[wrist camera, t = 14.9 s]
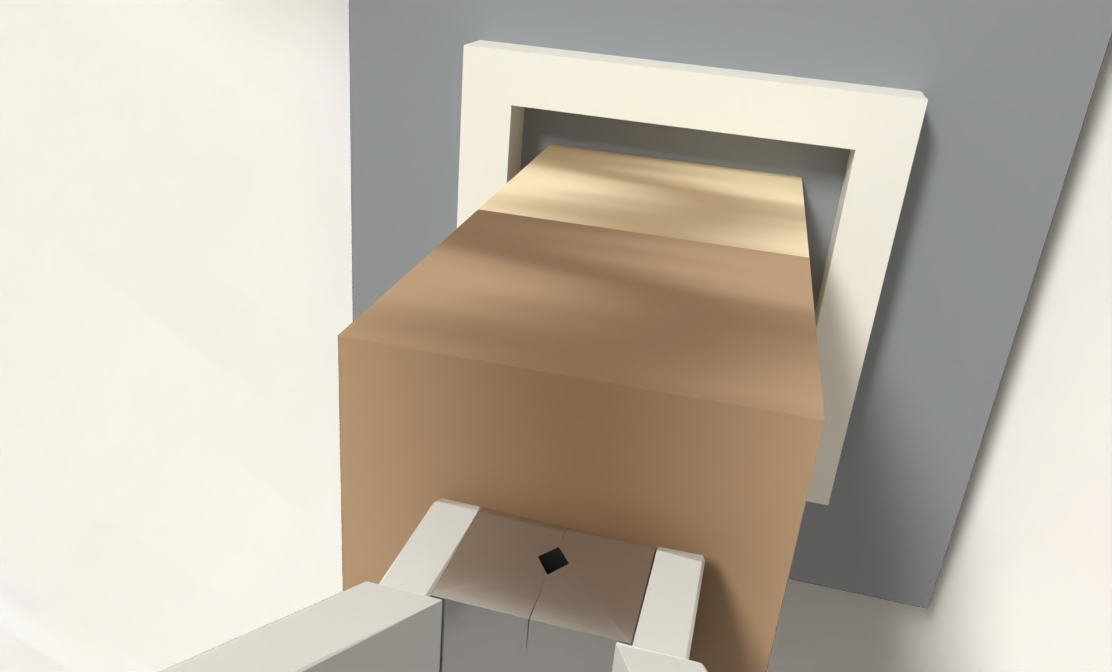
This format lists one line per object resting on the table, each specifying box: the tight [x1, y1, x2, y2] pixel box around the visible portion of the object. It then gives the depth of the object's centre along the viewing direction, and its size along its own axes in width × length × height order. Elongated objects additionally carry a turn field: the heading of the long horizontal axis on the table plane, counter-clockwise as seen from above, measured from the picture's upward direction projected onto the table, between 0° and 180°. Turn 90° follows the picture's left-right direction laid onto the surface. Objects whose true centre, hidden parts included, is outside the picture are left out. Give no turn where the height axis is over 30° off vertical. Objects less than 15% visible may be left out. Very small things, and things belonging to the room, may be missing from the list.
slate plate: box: [349, 0, 1112, 609], centre depth 19 cm, size 14×14×2 cm
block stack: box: [338, 144, 825, 672], centre depth 15 cm, size 5×5×10 cm
